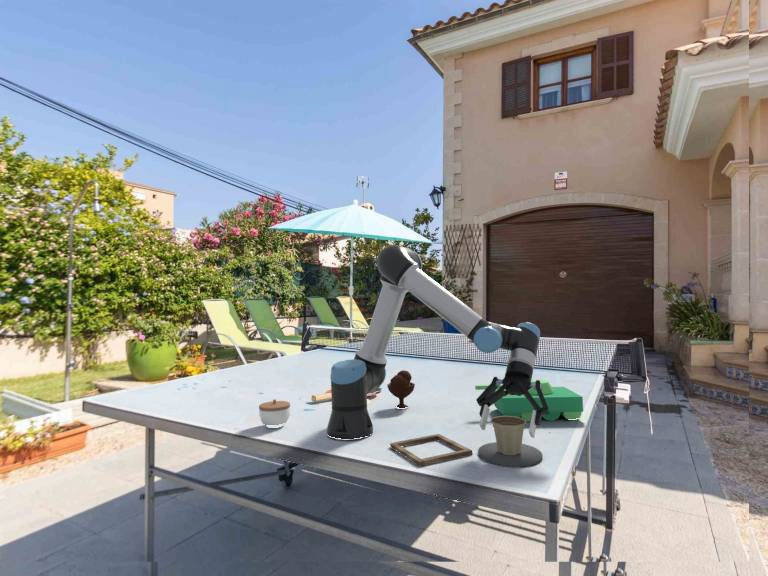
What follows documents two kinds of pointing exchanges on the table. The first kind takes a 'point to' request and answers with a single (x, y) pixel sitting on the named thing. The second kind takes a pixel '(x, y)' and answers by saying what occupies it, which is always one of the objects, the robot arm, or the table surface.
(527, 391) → the robot arm
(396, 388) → the ice cream bowl
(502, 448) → the flower pot
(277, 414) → the lidded jar
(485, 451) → the rubber mat
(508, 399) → the toy tank
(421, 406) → the table surface
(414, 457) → the walnut frame
